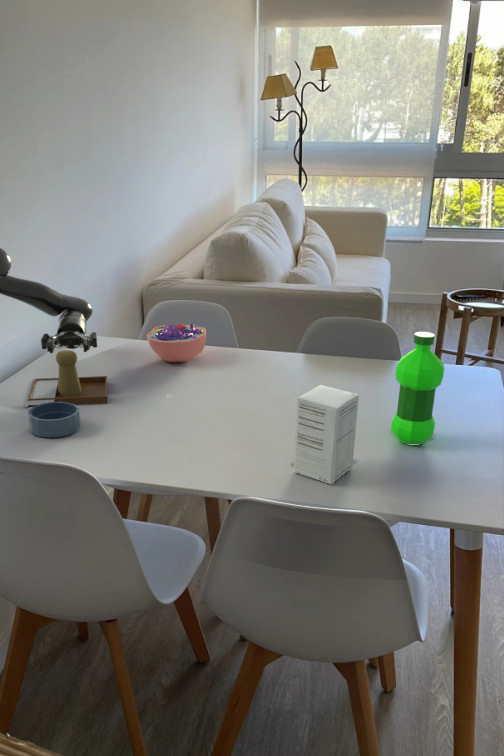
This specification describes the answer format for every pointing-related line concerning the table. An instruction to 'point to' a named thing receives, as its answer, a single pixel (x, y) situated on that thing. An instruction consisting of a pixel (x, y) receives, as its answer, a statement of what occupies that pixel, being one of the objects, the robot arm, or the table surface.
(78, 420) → the bowl
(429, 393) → the plastic bottle
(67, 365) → the cork
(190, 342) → the cell model
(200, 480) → the table surface
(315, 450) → the supplement box
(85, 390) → the tray
